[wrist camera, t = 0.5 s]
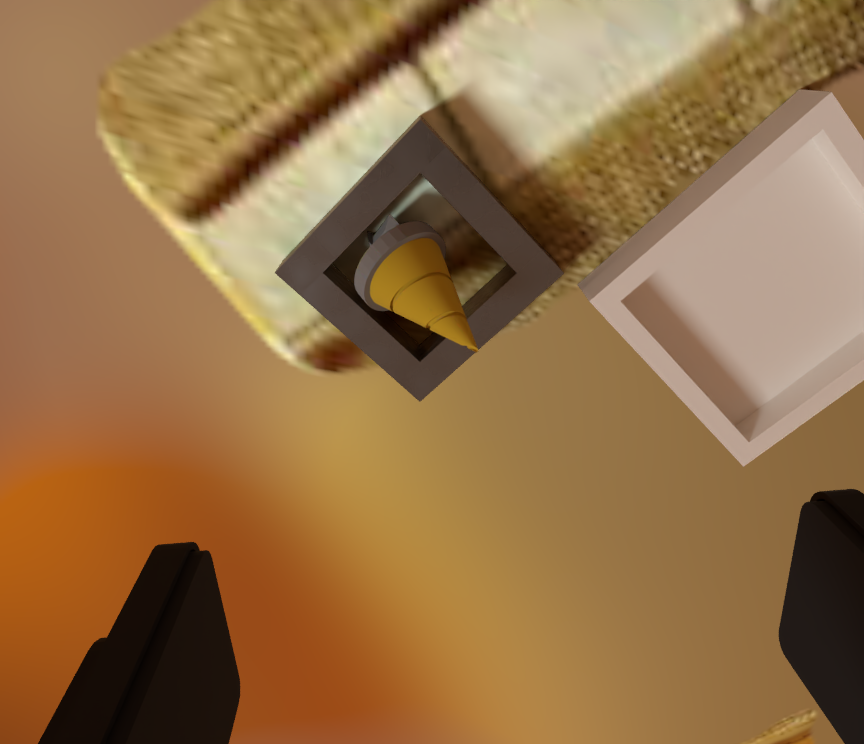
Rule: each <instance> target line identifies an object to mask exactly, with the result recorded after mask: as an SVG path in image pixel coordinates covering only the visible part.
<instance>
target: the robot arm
mask: <svg viewBox="0 0 864 744" xmlns="http://www.w3.org/2000/svg"><path fill="white" fill-rule="evenodd" d="M779 641H780V645H781V648H782V651H783V653H784V655H785V657H786V658H787V660H788V661H789V663H790V664H791V666H792V667H793V669H794V670H795V671H796V673H797V674H798V676H799V677H800V679H801V680H802V682H803V683H804V685H805V686H806V688H807V689H808V690H809V692H810V694H811V695H812V696H813V698H814V699H815V701H816V702H817V704H818V705H819V707H820V708H821V710H822V711H823V712H824V714H825V716H826V717H827V718H828V720H829V721H830V723H831V724H832V726H833V727H834V729H835V730H836V732H837V733H838V735H839V736H840V737H841V739H842V740H843V742H844V743H845V744H864V494H863V493H861V492H860V491H858V490H855V489H847V490H833V491H822V492H817V493H815V494H814V495H813V496H812V498H811V500H810V502H806V503H805V504H804V505H803V506H802V509H801V512H800V518H799V523H798V529H797V534H796V540H795V545H794V550H793V556H792V562H791V567H790V572H789V578H788V583H787V589H786V595H785V600H784V605H783V611H782V616H781V622H780V627H779ZM239 698H240V679H239V674H238V669H237V665H236V661H235V656H234V652H233V647H232V643H231V639H230V634H229V630H228V626H227V621H226V617H225V613H224V608H223V604H222V600H221V595H220V591H219V587H218V582H217V578H216V574H215V569H214V565H213V561H212V557H211V554H210V552H209V551H207V550H205V551H200V550H199V547H198V546H197V544H196V543H194V542H187V543H174V544H162V545H157V546H155V548H154V549H153V550H152V552H151V554H150V556H149V558H148V560H147V562H146V564H145V565H144V567H143V569H142V571H141V573H140V575H139V577H138V579H137V581H136V583H135V585H134V587H133V589H132V590H131V592H130V594H129V596H128V598H127V600H126V602H125V604H124V606H123V608H122V610H121V612H120V614H119V615H118V617H117V619H116V621H115V623H114V625H113V627H112V629H111V631H110V633H109V635H108V637H107V638H100V639H99V640H97V641H96V642H94V644H93V645H92V646H91V648H90V649H89V650H88V652H87V654H86V656H85V658H84V660H83V661H82V663H81V665H80V667H79V669H78V671H77V673H76V674H75V676H74V678H73V680H72V682H71V683H70V685H69V687H68V689H67V691H66V693H65V695H64V696H63V698H62V700H61V702H60V704H59V706H58V708H57V709H56V711H55V713H54V715H53V717H52V719H51V720H50V722H49V724H48V726H47V728H46V730H45V732H44V734H43V735H42V737H41V739H40V741H39V743H38V744H228V743H229V740H230V736H231V732H232V728H233V723H234V720H235V715H236V712H237V707H238V704H239Z"/></svg>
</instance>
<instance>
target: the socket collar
mask: <svg viewBox="0 0 864 744" xmlns="http://www.w3.org/2000/svg"><path fill="white" fill-rule="evenodd" d="M420 173H421V174H422V175H423V176H424V177H425V178H426V179H427V180H428V181H429V182H430V183H431V184H432V185H433V186H434V188H435V189H436V190H437V191H438V192H439V193H440V194H441V195H442V196H443V197H444V198H445V199H446V200H447V201H448V202H449V203H450V204H451V205H452V206H453V207H454V208H455V209H456V210H457V211H458V212H459V213H460V215H461V216H462V217H463V218H464V219H465V220H466V221H467V222H468V223H469V224H470V225H471V226H472V227H473V228H474V229H475V230H476V231H477V232H478V233H479V234H480V235H481V236H482V237H483V238H484V239H485V240H486V242H487V243H488V244H489V245H490V246H491V247H492V248H493V249H494V250H495V251H496V252H497V253H498V254H499V255H500V256H501V257H502V258H503V259H504V260H505V261H506V262H507V263H508V264H507V265H506V266H505V267H504V268H503V269H502V270H501V271H500V272H499V273H497V274H496V275H495V276H494V277H493V278H492V279H491V280H490V281H489V282H488V283H487V284H486V285H484V286H483V287H482V288H481V289H480V290H479V291H478V292H477V293H476V294H475V295H474V296H473V297H471V298H470V299H469V300H468V301H467V302H466V303H465V304H464V305H463V306H462V308H463V311H464V313H465V316H466V319H467V322H468V324H469V326H470V329H471V332H472V334H473V337H474V340H475V342H476V345H477V348H478V350H479V349H480V348H481V347H482V346H483V345H484V344H485V343H486V342H488V341H489V340H490V339H491V338H492V337H493V336H494V335H495V334H497V333H498V332H499V331H500V330H501V329H502V328H503V327H504V326H506V325H507V324H508V323H509V322H510V321H511V320H512V319H513V318H514V317H516V316H517V315H518V314H519V313H520V312H521V311H522V310H523V309H525V308H526V307H527V306H528V305H529V304H530V303H531V302H532V301H534V300H535V299H536V298H537V297H538V296H539V295H540V294H541V293H543V292H544V291H545V290H546V289H547V288H548V287H549V286H550V285H552V284H553V283H554V282H555V281H556V280H557V279H558V278H559V277H560V276H562V275H563V274H564V273H563V271H562V270H561V268H560V267H559V265H558V264H557V263H556V261H555V260H554V259H553V258H552V257H551V256H550V255H549V254H548V252H547V251H546V250H545V249H544V248H543V247H542V246H541V245H540V244H539V243H538V242H537V241H536V240H535V238H534V237H533V236H532V235H531V234H530V233H529V232H528V231H527V230H526V229H525V228H524V227H523V226H522V225H521V223H520V222H519V221H518V220H517V219H516V218H515V217H514V216H513V215H512V214H511V213H510V212H509V211H508V209H507V208H506V207H505V206H504V205H503V204H502V203H501V202H500V201H499V200H498V199H497V198H496V197H495V195H494V194H493V193H492V192H491V191H490V190H489V189H488V188H487V187H486V186H485V185H484V184H483V183H482V182H481V180H480V179H479V178H478V177H477V176H476V175H475V174H474V173H473V172H472V171H471V170H470V169H469V168H468V166H467V165H466V164H465V163H464V162H463V161H462V160H461V159H460V158H459V157H458V156H457V155H456V154H455V152H454V151H453V150H452V149H451V148H450V147H449V146H448V145H447V144H446V143H445V142H444V141H443V140H442V138H441V137H440V136H439V135H438V134H437V133H436V132H435V131H434V130H433V129H432V128H431V127H430V126H429V125H428V123H427V122H426V121H425V120H424V119H423V118H422V117H421V116H419V117H418V118H417V119H416V120H415V121H414V122H413V123H412V124H411V125H410V127H409V128H408V129H407V130H406V131H405V132H404V133H403V134H402V135H401V136H400V137H399V138H398V139H397V140H396V141H395V142H394V143H393V145H392V146H391V147H390V148H389V149H388V150H387V151H386V152H385V153H384V154H383V155H382V156H381V157H380V158H379V159H378V160H377V161H376V162H375V164H374V165H373V166H372V167H371V168H370V169H369V170H368V171H367V172H366V173H365V174H364V175H363V176H362V177H361V178H360V179H359V180H358V182H357V183H356V184H355V185H354V186H353V187H352V188H351V189H350V190H349V191H348V192H347V193H346V194H345V195H344V196H343V197H342V198H341V199H340V201H339V202H338V203H337V204H336V205H335V206H334V207H333V208H332V209H331V210H330V211H329V212H328V213H327V214H326V215H325V216H324V217H323V219H322V220H321V221H320V222H319V223H318V224H317V225H316V226H315V227H314V228H313V229H312V230H311V231H310V232H309V233H308V234H307V235H306V236H305V238H304V239H303V240H302V241H301V242H300V243H299V244H298V245H297V246H296V247H295V248H294V249H293V250H292V251H291V252H290V253H289V254H288V256H287V257H286V258H285V259H284V260H283V261H282V263H281V264H280V266H279V267H278V269H277V270H276V272H275V273H276V274H277V275H278V276H279V277H280V278H281V279H282V280H284V281H285V282H286V283H287V284H288V285H289V286H290V287H291V288H293V289H294V290H295V291H296V292H297V293H298V294H299V295H300V296H302V297H303V298H304V299H305V300H306V301H307V302H308V303H309V304H311V305H312V306H313V307H314V308H315V309H316V310H317V311H318V312H320V313H321V314H322V315H323V316H324V317H325V318H326V319H327V320H329V321H330V322H331V323H332V324H333V325H334V326H335V327H336V328H337V329H339V330H340V331H341V332H342V333H343V334H344V335H345V336H346V337H348V338H349V339H350V340H351V341H352V342H353V343H354V344H355V345H357V346H358V347H359V348H360V349H361V350H362V351H363V352H364V353H366V354H367V355H368V356H369V357H370V358H371V359H372V360H373V361H375V362H376V363H377V364H378V365H379V366H380V367H381V368H382V369H384V370H385V371H386V372H387V373H388V374H389V375H390V376H392V377H393V378H394V379H395V380H396V381H397V382H398V383H399V384H400V385H402V386H403V387H404V388H405V389H406V390H407V391H408V392H410V393H411V394H412V395H413V396H414V397H415V398H416V399H417V400H419V401H421V400H422V399H424V398H425V397H426V396H427V395H428V394H429V393H430V392H431V391H433V389H435V388H436V387H437V386H438V385H439V384H440V383H442V382H443V380H445V379H446V378H447V377H448V376H449V375H450V374H451V373H453V372H454V371H455V370H456V369H457V368H458V367H460V365H462V364H463V363H464V362H465V361H466V360H467V359H468V358H469V357H471V356H472V355H473V354H474V353H475V352H474V351H472V350H470V349H468V348H467V346H462V345H460V344H458V343H456V342H454V341H452V340H450V339H448V338H446V337H443V336H441V335H439V334H437V333H435V332H434V333H433V334H431V335H430V336H429V337H428V338H427V339H426V340H425V341H424V342H423V343H422V344H421V345H419V344H418V343H417V342H416V341H415V340H413V339H412V338H411V337H410V336H409V335H408V334H407V333H406V332H405V331H404V330H403V329H402V328H401V327H399V326H398V325H397V324H396V323H395V322H394V321H393V320H392V319H391V318H390V317H389V316H388V315H386V314H385V313H384V312H383V311H377V310H374V309H372V308H371V307H369V306H368V305H367V304H366V302H365V301H364V300H363V299H362V298H361V296H360V295H359V294H358V292H357V291H356V289H355V285H354V284H353V283H352V282H351V281H350V280H349V279H348V278H347V277H345V276H344V275H343V274H342V273H341V272H340V271H339V270H338V269H337V268H336V267H335V266H334V265H332V263H333V262H334V261H335V260H336V258H337V257H338V256H339V255H340V254H341V253H342V252H343V251H344V250H345V249H346V248H347V247H348V246H349V245H350V244H351V243H352V242H353V241H354V240H355V239H356V238H357V237H358V236H359V235H360V234H361V233H362V232H363V231H364V230H365V229H366V228H367V227H368V226H369V225H370V224H371V223H372V222H373V221H374V220H375V219H376V218H377V217H378V215H379V214H380V213H381V212H382V211H383V210H384V209H385V208H386V207H387V206H388V205H389V204H390V203H391V202H392V201H393V200H394V199H395V198H396V197H397V196H398V195H399V194H400V193H401V192H402V191H403V190H404V189H405V188H406V187H407V186H408V185H409V184H410V183H411V182H412V181H413V180H414V179H415V178H416V177H417V176H418V175H419V174H420Z"/></svg>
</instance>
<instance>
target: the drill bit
mask: <svg viewBox="0 0 864 744" xmlns="http://www.w3.org/2000/svg"><path fill="white" fill-rule="evenodd" d="M368 239H369V245H370V247H369V248H368V250H367V251H366V252H365V254H364V255H363V257H362V258H361V260H360V262H359V264H358V266H357V269H356V273H355V278H354V284H355V289H356V291H357V292H358V294H359V295H360V296H361V298H362V299H363V300H364V301H365V302H366V304H367V305H368V306H369V307H371V308H372V309H374V310H377V311H389V310H390V311H392V312H395V313H396V314H398V315H400V316H403V317H405V318H407V319H409V320H411V321H413V322H415V323H417V324H419V325H421V326H423V327H425V328H430V330H431V331H433V332H435V333H437V334H439V335H441V336H443V337H446V338H448V339H450V340H452V341H454V342H456V343H458V344H460V345H462V346H467V348H468V349H470V350H472V351H474V352H477V351H478V348H477V345H476V342H475V340H474V337H473V334H472V332H471V329H470V326H469V324H468V322H467V319H466V316H465V313H464V311H463V308H462V305H461V303H460V300H459V297H458V295H457V292H456V289H455V287H454V284H453V281H452V279H451V276H450V274H449V271H448V268H447V266H446V263H445V255H446V246H445V243H444V240H443V239H442V238H441V236H440V235H439V234H438V233H437V232H436V231H435V230H434V229H433V228H432V227H431V226H429V225H428V224H426V223H424V222H420V221H412V222H407V223H403V224H401V225H400V224H399V223H398V222H397V221H396V220H395V219H394V218H393V217H392V216H391V215H390V214H389V216H388V217H387V219H386V220H385V221H384V223H383V224H382V225H381V227H380V228H379V229H378V231H377V232H376V233H375V234H373V233H371V232H369V231H368Z"/></svg>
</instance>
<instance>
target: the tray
mask: <svg viewBox="0 0 864 744" xmlns="http://www.w3.org/2000/svg"><path fill="white" fill-rule="evenodd" d="M578 286H579V288H580V289H581V290H582V292H583V293H584V294H585V296H586V297H587V298H588V300H589V301H590V302H591V304H592V305H593V306H594V307H595V308H596V309H597V310H598V311H599V312H600V313H601V314H602V315H603V316H604V317H605V319H607V321H608V322H609V323H610V324H611V325H612V326H613V327H614V328H615V329H616V330H617V331H618V332H619V334H620V335H621V336H622V337H623V338H624V339H625V340H626V341H627V342H628V343H629V344H630V345H631V346H632V347H633V349H634V350H635V351H636V352H637V353H638V354H639V355H640V356H641V357H642V358H643V359H644V360H645V361H646V363H647V364H648V365H650V367H651V368H652V369H653V370H654V371H655V372H656V373H657V374H658V375H659V376H660V378H661V379H662V380H663V381H664V382H665V383H666V384H667V385H668V386H669V387H670V388H671V389H672V390H673V391H674V393H675V394H676V395H677V396H678V397H679V398H680V399H681V400H682V401H683V402H684V403H685V404H686V405H687V407H689V409H690V410H691V411H692V412H693V413H694V414H695V415H696V416H697V417H698V418H699V419H700V420H701V422H702V423H704V425H705V426H706V427H707V428H708V429H709V430H710V431H711V432H712V433H713V434H714V435H715V436H716V438H717V439H718V440H719V441H720V442H721V443H722V444H723V445H724V446H725V447H726V448H727V449H728V450H729V451H730V453H731V454H732V455H733V456H734V457H735V458H736V459H737V460H738V461H739V462H740V463H741V464H742V466H745V465H746V464H747V463H749V462H750V461H752V460H753V459H754V458H756V457H757V456H759V455H760V454H762V453H763V452H764V451H766V450H767V449H768V448H770V447H771V446H773V445H774V444H775V443H777V442H778V441H780V440H781V439H782V438H784V437H785V436H787V435H788V434H789V433H791V432H792V431H794V430H795V429H796V428H798V427H799V426H800V425H802V424H803V423H805V422H806V421H807V420H809V419H810V418H811V417H813V416H814V415H816V414H817V413H819V412H820V411H821V410H823V409H824V408H825V407H827V406H828V405H830V404H831V403H832V402H834V401H835V400H837V399H838V398H839V397H841V396H842V395H844V394H845V393H846V392H848V391H849V390H850V389H852V388H853V387H855V386H856V385H857V384H859V383H860V382H862V381H863V380H864V139H863V138H862V137H861V135H860V133H859V132H858V130H857V129H856V128H855V126H854V124H853V123H852V121H851V120H850V119H849V117H848V115H847V114H846V113H845V111H844V110H843V108H842V107H841V105H840V104H839V102H838V101H837V99H836V98H835V96H834V95H833V93H832V92H827V91H814V90H801V89H799V90H798V91H797V92H796V93H795V94H794V95H793V96H792V97H790V98H789V99H788V100H787V101H786V102H785V103H784V104H782V105H781V106H780V107H779V108H778V109H777V110H776V111H774V112H773V113H772V114H771V115H770V116H769V117H768V118H766V119H765V120H764V121H763V122H762V123H761V124H760V125H759V126H757V127H756V128H755V129H754V130H753V131H752V132H751V133H749V134H748V135H747V136H746V137H745V138H744V139H743V140H741V141H740V142H739V143H738V144H737V145H736V146H735V147H734V148H732V149H731V150H730V151H729V152H728V153H727V154H726V155H724V156H723V157H722V158H721V159H720V160H719V161H718V162H716V163H715V164H714V165H713V166H712V167H711V168H710V169H708V170H707V171H706V172H705V173H704V174H703V175H702V176H701V177H699V178H698V179H697V180H696V181H695V182H694V183H693V184H691V185H690V186H689V187H688V188H687V189H686V190H685V191H683V192H682V193H681V194H680V195H679V196H678V197H677V198H675V199H674V200H673V201H672V202H671V203H670V204H669V205H668V206H666V207H665V208H664V209H663V210H662V211H661V212H660V213H658V214H657V215H656V216H655V217H654V218H653V219H652V220H650V221H649V222H648V223H647V224H646V225H645V226H644V227H642V228H641V229H640V230H639V231H638V232H637V233H636V234H635V235H633V236H632V237H631V238H630V239H629V240H628V241H627V242H625V243H624V244H623V245H622V246H621V247H620V248H619V249H617V250H616V251H615V252H614V253H613V254H612V255H611V256H610V257H608V258H607V259H606V260H605V261H604V262H603V263H602V264H600V265H599V266H598V267H597V268H596V269H595V270H594V271H592V272H591V273H590V274H589V275H588V276H587V277H586V278H584V279H583V280H582V281H581V282H580V283H579V284H578Z"/></svg>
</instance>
